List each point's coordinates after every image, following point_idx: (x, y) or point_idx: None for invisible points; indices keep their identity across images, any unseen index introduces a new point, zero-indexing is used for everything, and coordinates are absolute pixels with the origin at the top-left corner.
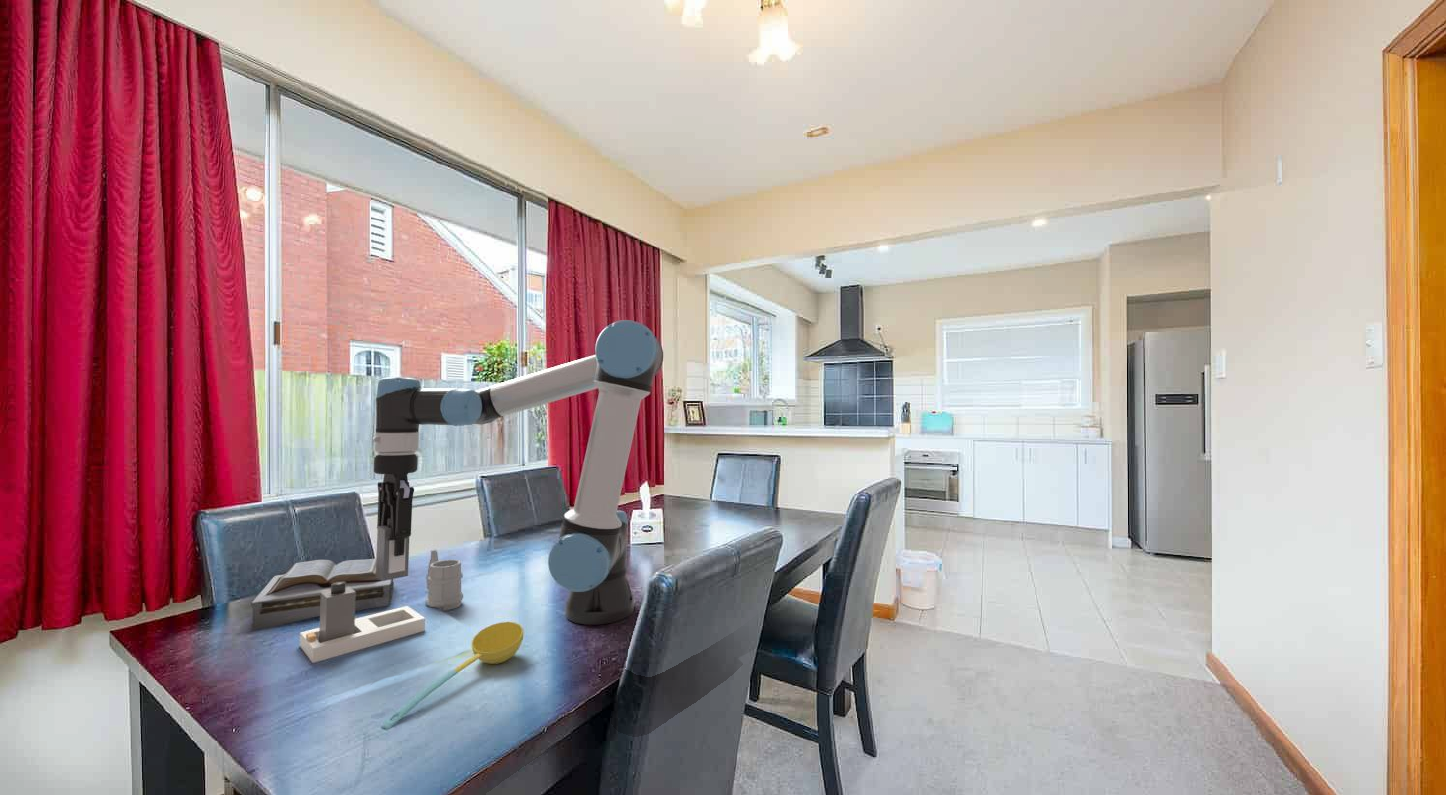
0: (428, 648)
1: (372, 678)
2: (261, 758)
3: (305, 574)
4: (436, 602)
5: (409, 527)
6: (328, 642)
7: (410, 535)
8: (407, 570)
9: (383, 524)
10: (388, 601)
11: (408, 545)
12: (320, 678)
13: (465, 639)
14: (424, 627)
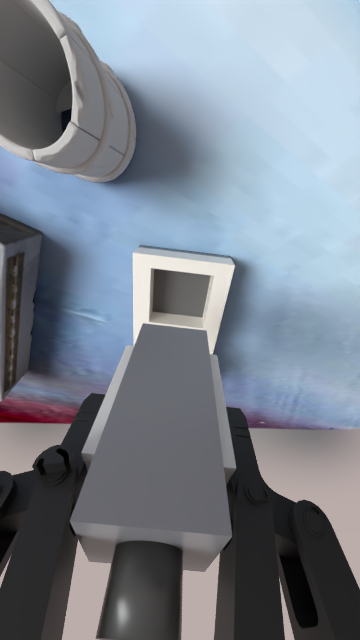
0: (281, 276)
1: (288, 350)
2: (322, 424)
3: None
4: (119, 171)
5: (353, 588)
6: None
7: (320, 509)
8: (207, 341)
9: (74, 560)
10: (31, 238)
11: (215, 411)
12: (233, 374)
13: (316, 218)
14: (231, 260)
